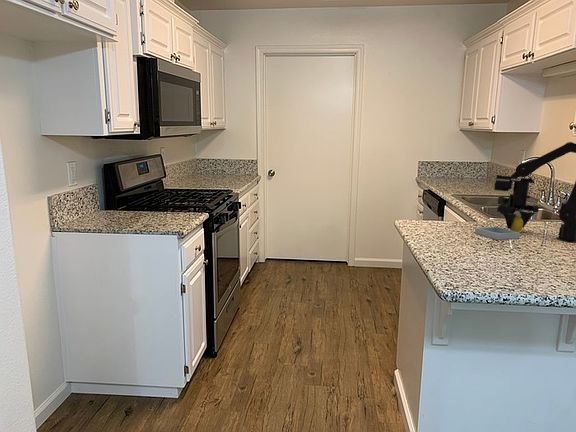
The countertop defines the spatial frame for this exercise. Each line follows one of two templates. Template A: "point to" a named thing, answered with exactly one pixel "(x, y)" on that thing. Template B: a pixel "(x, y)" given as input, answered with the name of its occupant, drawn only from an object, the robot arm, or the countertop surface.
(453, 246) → the countertop surface
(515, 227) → the lemon
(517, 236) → the dish
